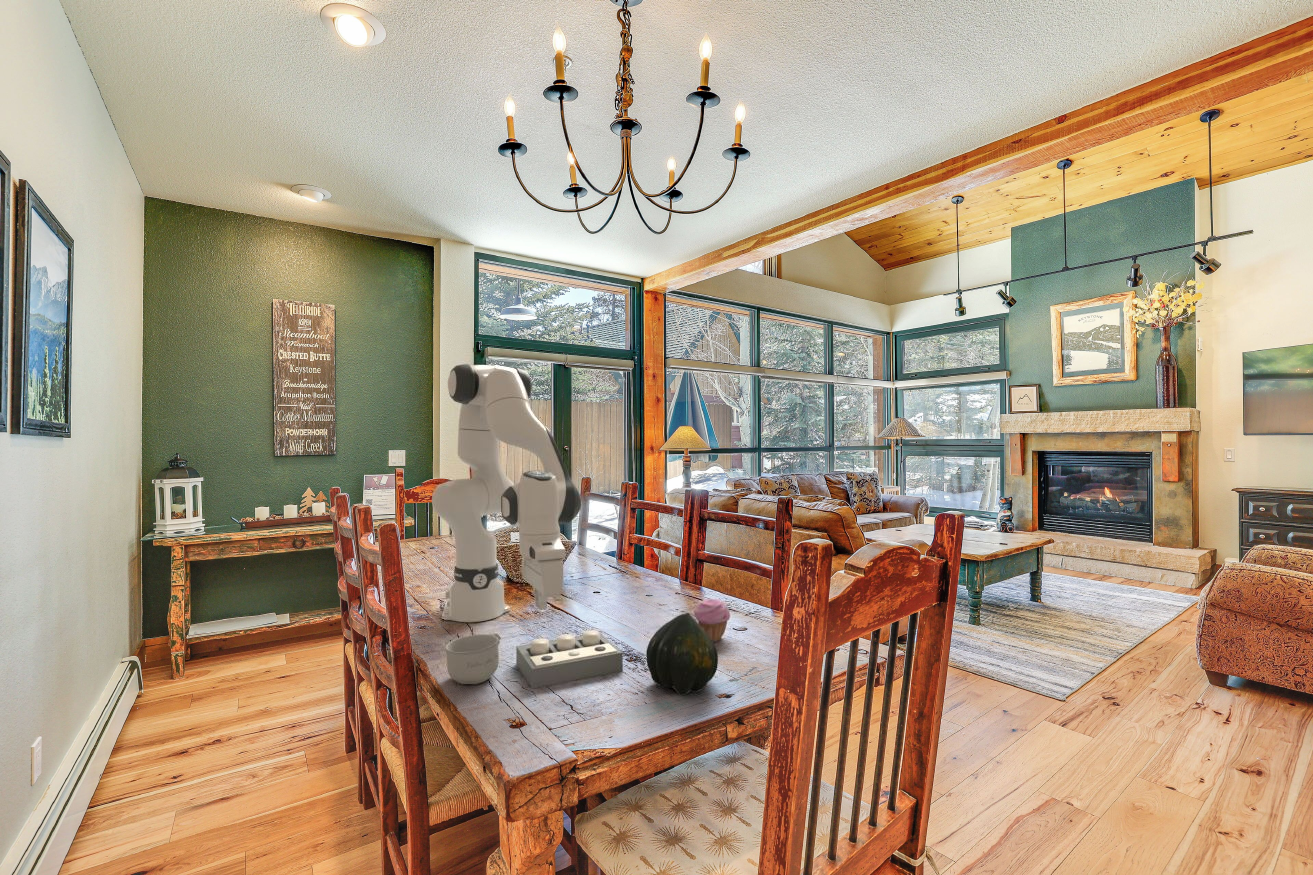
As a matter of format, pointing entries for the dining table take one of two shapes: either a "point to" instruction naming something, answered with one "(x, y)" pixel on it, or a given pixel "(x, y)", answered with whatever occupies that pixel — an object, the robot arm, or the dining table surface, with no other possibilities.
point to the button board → (568, 662)
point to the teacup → (473, 658)
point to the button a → (539, 647)
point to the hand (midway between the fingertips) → (541, 607)
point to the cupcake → (712, 617)
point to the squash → (682, 655)
